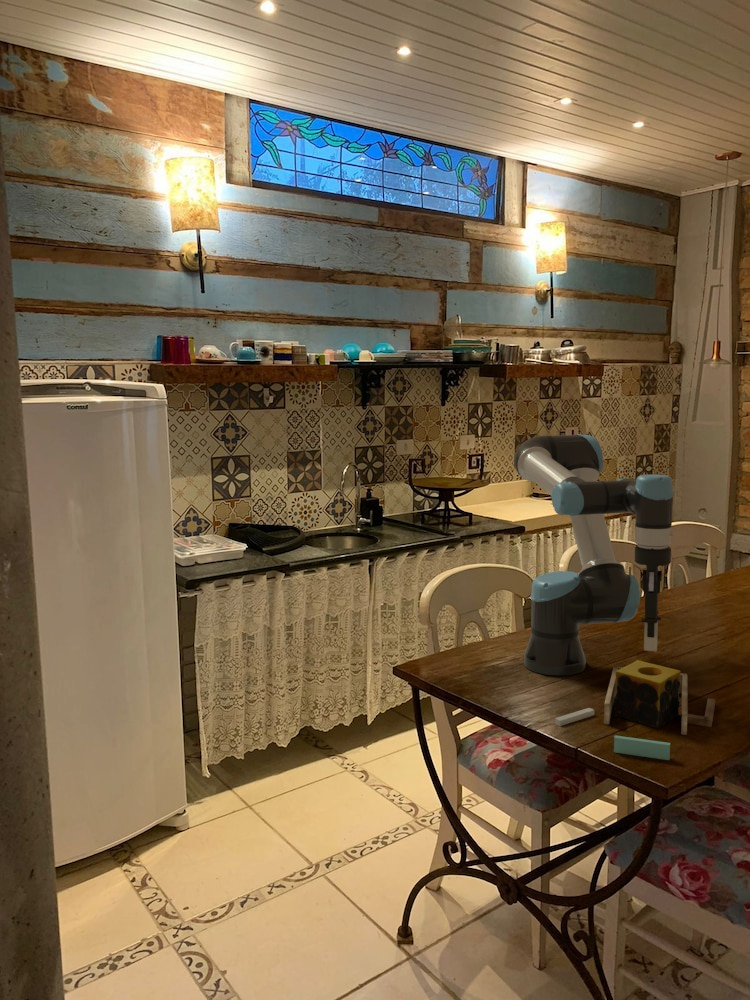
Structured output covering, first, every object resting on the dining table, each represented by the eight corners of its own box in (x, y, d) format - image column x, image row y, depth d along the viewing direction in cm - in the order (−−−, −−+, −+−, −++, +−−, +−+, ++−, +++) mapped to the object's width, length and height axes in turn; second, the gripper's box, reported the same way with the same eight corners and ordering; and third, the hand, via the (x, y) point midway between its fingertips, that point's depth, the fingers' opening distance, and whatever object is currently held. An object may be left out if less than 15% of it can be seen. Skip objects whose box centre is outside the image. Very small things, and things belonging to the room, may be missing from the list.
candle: (612, 715, 166) (613, 671, 165) (635, 702, 173) (636, 658, 172) (658, 730, 159) (659, 683, 158) (680, 714, 166) (681, 670, 165)
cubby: (604, 723, 162) (604, 703, 162) (613, 684, 183) (613, 666, 183) (686, 734, 156) (687, 713, 156) (686, 692, 178) (687, 673, 177)
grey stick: (554, 725, 163) (554, 718, 163) (589, 714, 168) (589, 707, 168) (559, 727, 162) (559, 720, 162) (594, 716, 167) (594, 709, 167)
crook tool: (686, 723, 162) (686, 716, 162) (691, 702, 173) (691, 695, 172) (711, 727, 160) (711, 720, 160) (715, 705, 170) (715, 699, 170)
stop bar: (613, 752, 150) (614, 737, 149) (614, 750, 151) (614, 735, 150) (669, 760, 146) (670, 745, 146) (669, 757, 147) (670, 742, 146)
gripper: (670, 552, 163) (667, 660, 166) (671, 541, 175) (669, 642, 178) (633, 550, 166) (630, 657, 169) (636, 539, 178) (634, 639, 181)
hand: (650, 649), depth 173 cm, fingers closed
